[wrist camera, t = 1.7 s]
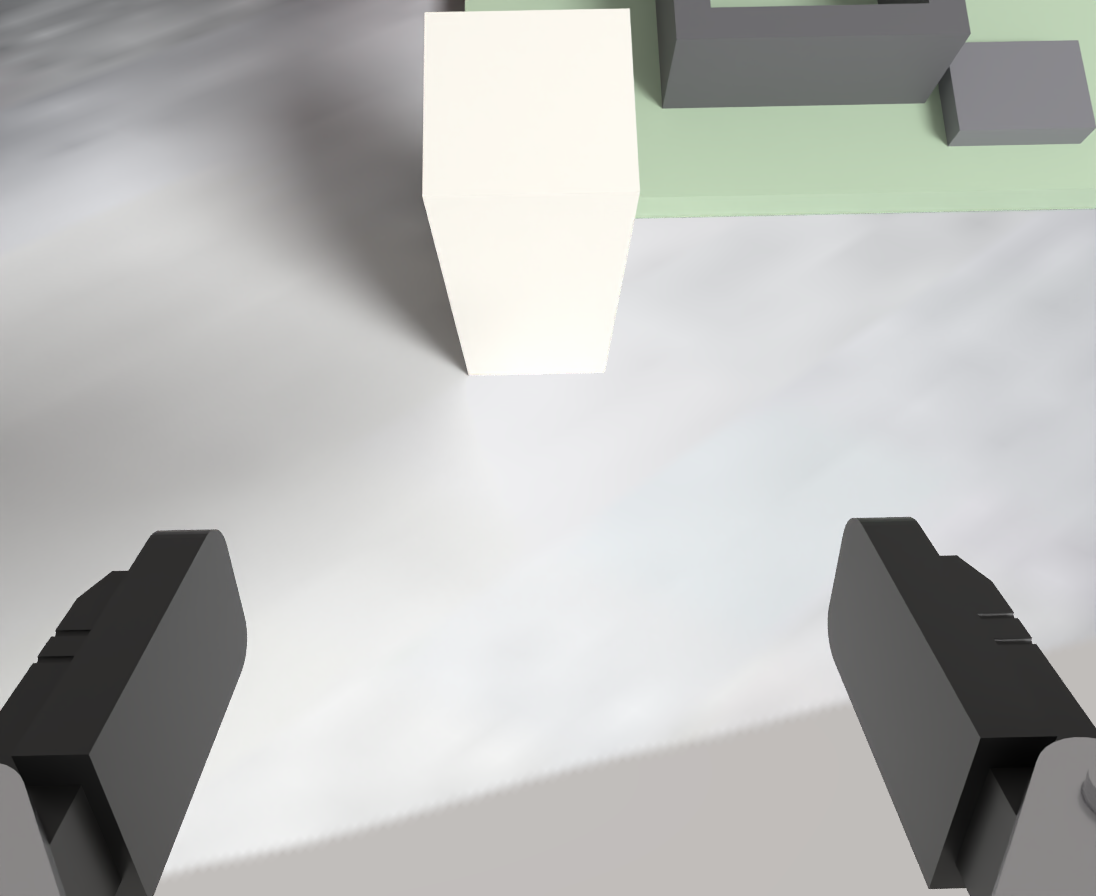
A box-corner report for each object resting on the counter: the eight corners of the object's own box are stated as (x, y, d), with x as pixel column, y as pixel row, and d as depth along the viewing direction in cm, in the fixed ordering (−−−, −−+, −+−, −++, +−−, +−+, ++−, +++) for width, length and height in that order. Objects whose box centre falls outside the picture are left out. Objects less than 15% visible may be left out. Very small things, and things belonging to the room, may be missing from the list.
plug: (469, 375, 26) (422, 196, 16) (468, 233, 27) (424, -14, 17) (605, 372, 26) (639, 192, 16) (598, 231, 27) (628, -17, 17)
